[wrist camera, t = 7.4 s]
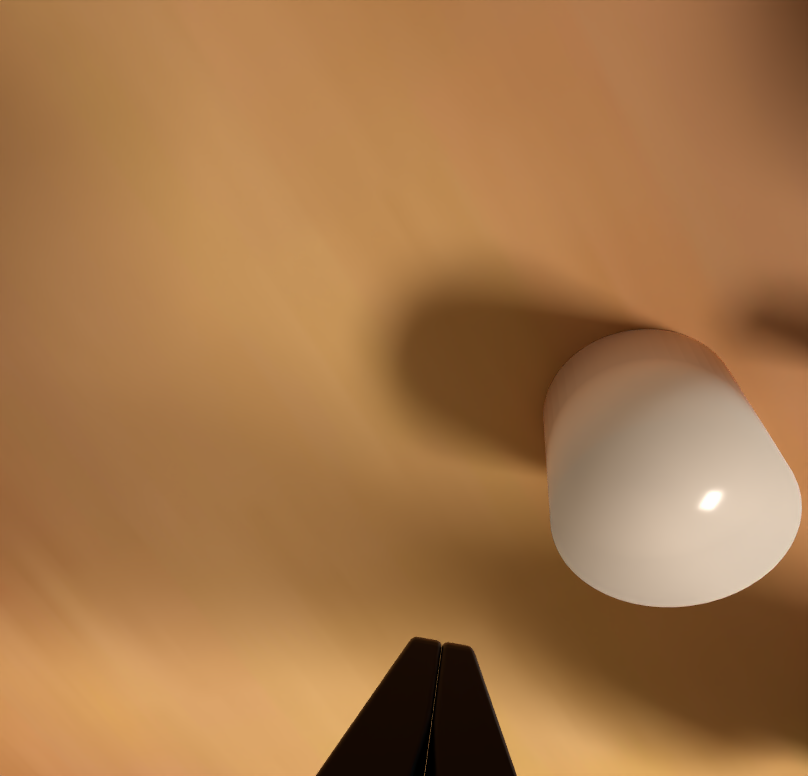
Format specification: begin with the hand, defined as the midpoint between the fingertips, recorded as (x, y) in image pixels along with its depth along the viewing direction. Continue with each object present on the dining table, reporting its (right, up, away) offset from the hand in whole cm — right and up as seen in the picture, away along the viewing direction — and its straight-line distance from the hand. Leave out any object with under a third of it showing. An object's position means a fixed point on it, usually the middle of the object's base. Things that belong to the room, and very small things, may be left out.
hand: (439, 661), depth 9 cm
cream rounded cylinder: (+7, +3, +11) cm, 13 cm away
